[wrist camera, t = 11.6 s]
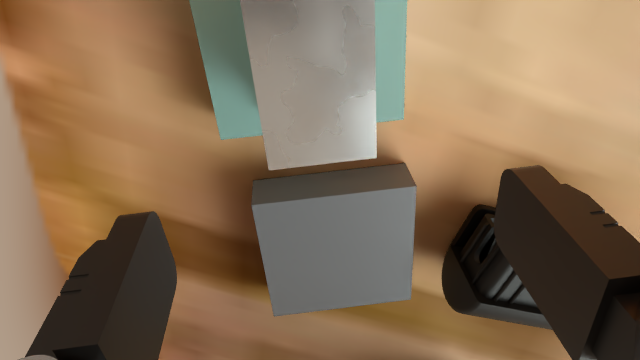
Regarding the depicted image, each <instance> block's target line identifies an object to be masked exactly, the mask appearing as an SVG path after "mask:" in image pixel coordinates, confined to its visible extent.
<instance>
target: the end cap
mask: <svg viewBox="0 0 640 360" xmlns="http://www.w3.org/2000/svg"><path fill="white" fill-rule="evenodd" d="M495 212H496V208H494V207H490V206H486V205H477V206H475V207H474V208H473V209H472V211H471V212H470V214H469V215H468V217H467V219H466V220H465V222H464V223H463V225H462V226H461V228H460V230H459V231H458V233H457V234H456V236H455V237H454V239H453V241H452V243H451V246H450V247H449V249H448V251H447V253H446V256H445V259H444V263H443V268H442V287H443V292H444V295H445V298H446V300H447V302H448V304H449V305H450V306H451V307H452V309H454V310H455V311H457V312H459V313H462V314H467V315H472V316H478V317H484V318H489V319H495V320H501V321H506V322H512V323H517V324H523V325H529V326H534V327H540V328H546V329H551V330H553V329H552V328H551V326H550V325H549V323H548V322H547V320H546V319H545V317H544V316H543V314H542V312H541V311H540V309H539V308H538V306H537V305H536V303H535V302H534V300H533V299H532V297H531V296H530V294H529V293H528V291H527V290H526V288H525V286H524V285H523V283H522V282H521V280H520V279H519V277H518V276H517V274H516V273H515V271H514V270H513V268H512V267H511V265H510V264H509V262H508V260H507V259H506V257H505V256H504V254H503V253H502V251H501V250H500V248H499V246H498V244H497V241H496V238H495V234H494V218H495Z"/></svg>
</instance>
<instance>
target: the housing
mask: <svg viewBox="0 0 640 360" xmlns="http://www.w3.org/2000/svg"><path fill="white" fill-rule="evenodd" d="M240 5H241V10H242V16H243V22H244V28H245V34H246V40H247V46H248V52H249V57H250V63H251V69H252V75H253V81H254V87H255V93H256V98H257V104H258V110H259V116H260V122H261V128H262V134H263V139H264V145H265V151H266V157H267V163H268V169H269V170H277V169H286V168H295V167H303V166H312V165H320V164H329V163H338V162H346V161H355V160H363V159H372V158H377V141H376V57H375V0H240Z"/></svg>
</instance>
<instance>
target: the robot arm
mask: <svg viewBox="0 0 640 360" xmlns="http://www.w3.org/2000/svg"><path fill="white" fill-rule="evenodd" d="M494 234H495V238H496V241H497V244H498V246H499V248H500V250H501V251H502V253H503V254H504V256H505V257H506V259H507V260H508V262H509V264H510V265H511V267H512V268H513V270H514V271H515V273H516V274H517V276H518V277H519V279H520V280H521V282H522V283H523V285H524V286H525V288H526V290H527V291H528V293H529V294H530V296H531V297H532V299H533V300H534V302H535V303H536V305H537V306H538V308H539V309H540V311H541V312H542V314H543V316H544V317H545V319H546V320H547V322H548V323H549V325H550V326H551V328H552V329H553V331H554V332H555V334H556V335H557V337H558V338H559V340H560V341H561V343H562V345H563V346H564V348H565V349H566V351H567V352H568V354H569V355H570V357H571V358H572V360H640V243H639V242H638V241H637V240H636V239H635V238H634V237H633V236H632V235H631V234H630V233H629V232H627V231H626V230H625V229H624V228H623V227H622V226H618V222H617V221H616V220H615V219H613V218H612V217H611V216H610V215H609V214H608V213H606V214H605V210H604V209H603V208H602V207H601V206H600V205H598V204H597V203H596V202H595V201H594V200H593V199H592V198H591V197H590V196H589V195H587V194H585V193H583V192H581V191H579V190H577V189H575V188H573V187H571V186H570V185H568V184H560V183H559V182H558V181H557V180H556V179H555V178H554V177H553V176H552V175H551V174H550V173H549V172H548V171H547V170H546V169H545V168H544V167H542V166H539V165H537V166H529V167H520V168H512V169H506V170H505V171H504V172H503V173H502V176H501V181H500V187H499V193H498V199H497V206H496V212H495V218H494ZM176 284H177V273H176V265H175V261H174V258H173V256H172V253H171V250H170V247H169V244H168V241H167V239H166V236H165V233H164V230H163V227H162V224H161V222H160V219H159V217H158V215H157V214H156V213H155V212H154V211H152V212H144V213H136V214H128V215H120V216H118V217H117V219H116V221H115V223H114V225H113V227H112V229H111V231H110V233H109V235H108V237H107V239H106V240H98V241H96V242H95V243H94V244H93V245H92V246H91V247H90V248H89V249H88V250H86V251H85V252H84V253H83V254H82V255H81V256H80V257H79V258H78V260H77V262H76V264H75V266H74V268H73V269H72V271H71V273H70V275H69V280H66V282H65V284H64V286H63V288H62V290H61V292H60V293H61V295H60V296H58V297H57V299H56V301H55V303H54V305H53V306H52V308H51V310H50V312H49V314H48V315H47V317H46V319H45V321H44V323H43V325H42V327H41V329H40V330H39V332H38V334H37V336H36V338H35V339H34V341H33V344H32V345H31V347H30V349H29V351H28V352H27V354H26V356H25V358H21V359H19V360H158V358H159V354H160V350H161V346H162V342H163V338H164V334H165V330H166V326H167V322H168V318H169V314H170V310H171V306H172V302H173V298H174V294H175V290H176Z"/></svg>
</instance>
